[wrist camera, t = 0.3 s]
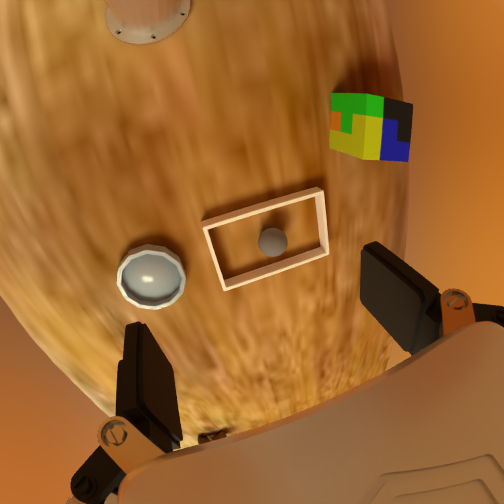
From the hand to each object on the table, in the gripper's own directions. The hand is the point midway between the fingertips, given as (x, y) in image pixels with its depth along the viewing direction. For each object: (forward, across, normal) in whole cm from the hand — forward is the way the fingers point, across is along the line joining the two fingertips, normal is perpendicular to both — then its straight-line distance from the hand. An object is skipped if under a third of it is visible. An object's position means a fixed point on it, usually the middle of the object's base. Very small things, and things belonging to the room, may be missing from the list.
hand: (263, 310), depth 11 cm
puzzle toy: (+36, -29, -1) cm, 46 cm away
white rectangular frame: (+36, -9, +16) cm, 41 cm away
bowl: (+36, +13, +17) cm, 42 cm away
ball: (+36, -9, +16) cm, 41 cm away
